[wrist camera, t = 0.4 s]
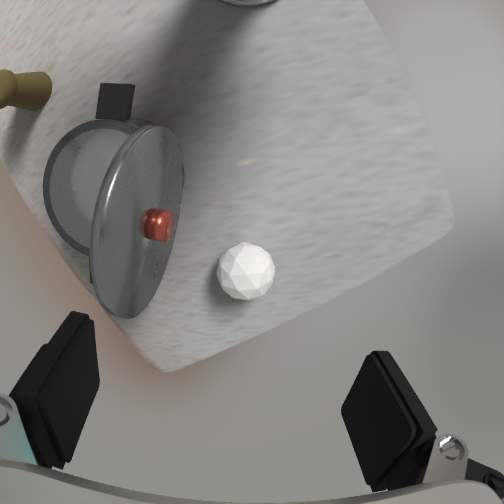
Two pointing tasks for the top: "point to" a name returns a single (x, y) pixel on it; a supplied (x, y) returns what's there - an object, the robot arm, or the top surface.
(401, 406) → the robot arm
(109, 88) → the pot
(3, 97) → the cork
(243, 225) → the top surface
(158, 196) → the lid
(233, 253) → the geometric ball
